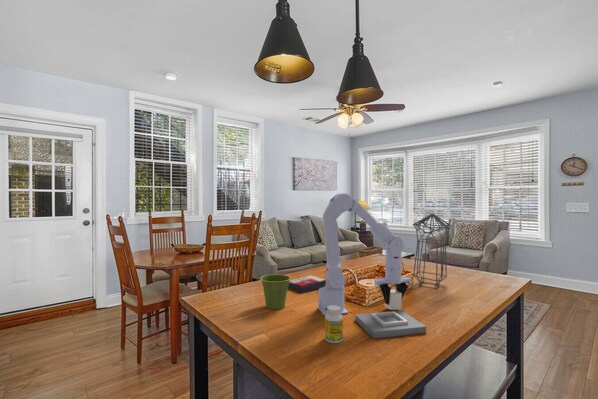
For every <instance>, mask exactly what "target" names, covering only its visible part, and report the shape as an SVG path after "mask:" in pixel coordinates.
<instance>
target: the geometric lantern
mask: <svg viewBox="0 0 598 399" xmlns="http://www.w3.org/2000/svg"><path fill="white" fill-rule="evenodd" d="M429 220H430V222H429ZM428 222H429V223H428ZM435 222H436V223H437V224H435ZM412 226H413V227H414V228H415V231H416V242H417V243H416V247H415V248H416V249H415V257H414V266H413V273H412V276H413V278H414V279H416V280H417V281H418V287H422V288H427V289H428V288H429V289H435V290H436V289H438V288H439V286H440V283H442V282H443V281H444V280H446V278H447V277H448V276H447V274H448V272H447V244H446V243H447V242H446V241H447V238H448V235H449V232H450V230H451V228H452V224H450V223H449V222H447V221H445V220H444V219H442V218H441V217H440V216H438V215H436V214H435V213H430V214H428V215H426V216H425V217H423V218H422V219H419V220H418V221H416V222H414V223H413V224H412ZM422 228H423V229H422ZM425 228H427V229H429V231H425ZM443 230H445V232H444V234H443V236H442V235H441V231H443ZM421 231H422V232H423V234H422V232H421ZM418 232H419V233H420V236H421V237H420V238H419V236H418V235H419V234H418ZM435 232H437V233H438V234H439V236H440V237H441V240H440V239H436V238H435V236H434V234H433V233H435ZM425 234H428V235H427V236H426V238H424V237H423V236H424V235H425ZM430 235H431V236H432V238H433V239H430V238H429V237H430ZM444 237H445V238H444ZM431 241H432V242H431ZM433 241H435V242H433ZM420 243H421V248H420ZM424 243H425V245H424ZM427 244H435V245H436V248H435V249H436V250H435V251H436V255H435V256H436V258H435V259H436V260H435V262H436V264H435V265H436V266H435V267H436V269H435V271H436V272H429V271H425V270H426V269H425V267H426V256H427ZM423 245H424V246H423ZM439 245H440V273H438V267H439V266H438V263H439V262H438V261H439V258H438V257H439V256H438V255H439V250H438V249H439ZM423 247H424V257H423V256H422V254H423ZM419 254H420V255H419ZM422 257H423V258H424V259H423V267H422V268H423V270H422V271H421V263H422ZM444 263H445V264H444ZM444 266H445V267H444ZM444 268H445V269H444ZM444 270H445V275H444ZM415 272H416V273H415ZM421 273H422V275H423V276H422V275H421ZM418 274H419V276H418ZM425 274H429V275H435V279H433V278H429V277H425ZM438 276H440V277H439V278H438ZM425 280H429V281H434V282H427V281H425ZM422 283H423V284H430V285H434V287H432V286H425V285H422Z"/></svg>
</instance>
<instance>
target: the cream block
mask: <svg viewBox="0 0 598 399" xmlns="http://www.w3.org/2000/svg"><path fill="white" fill-rule="evenodd" d="M402 302H403V299H402V293H400V292H399V291H397V290H396V289H391V290H390V297H389V305H387V304H386V303H385V302H384V307H385V308H387V309H389V310H390V311H399V310H402V307H403V306H402Z"/></svg>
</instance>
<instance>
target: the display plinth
mask: <svg viewBox="0 0 598 399" xmlns="http://www.w3.org/2000/svg"><path fill="white" fill-rule="evenodd" d="M354 321H355V322H356V323H357V324H358V325H360V327H361V328H362V329H364V331H366V332H367V333H368V334H369V335H370V336H371V337H372V338H373V339H380V338H381V339H383V338H390V337H391V338H392V337H400V336H409V335H420V334H427V325H425V324H423V323H422V322H421V321H418V320H417V319H415V318H414V317H413V316H411V315H409V314H408V313H407V312H405V311H403V310H402V309H400V310H390V311H382V312H367V313H358V314H354Z"/></svg>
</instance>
